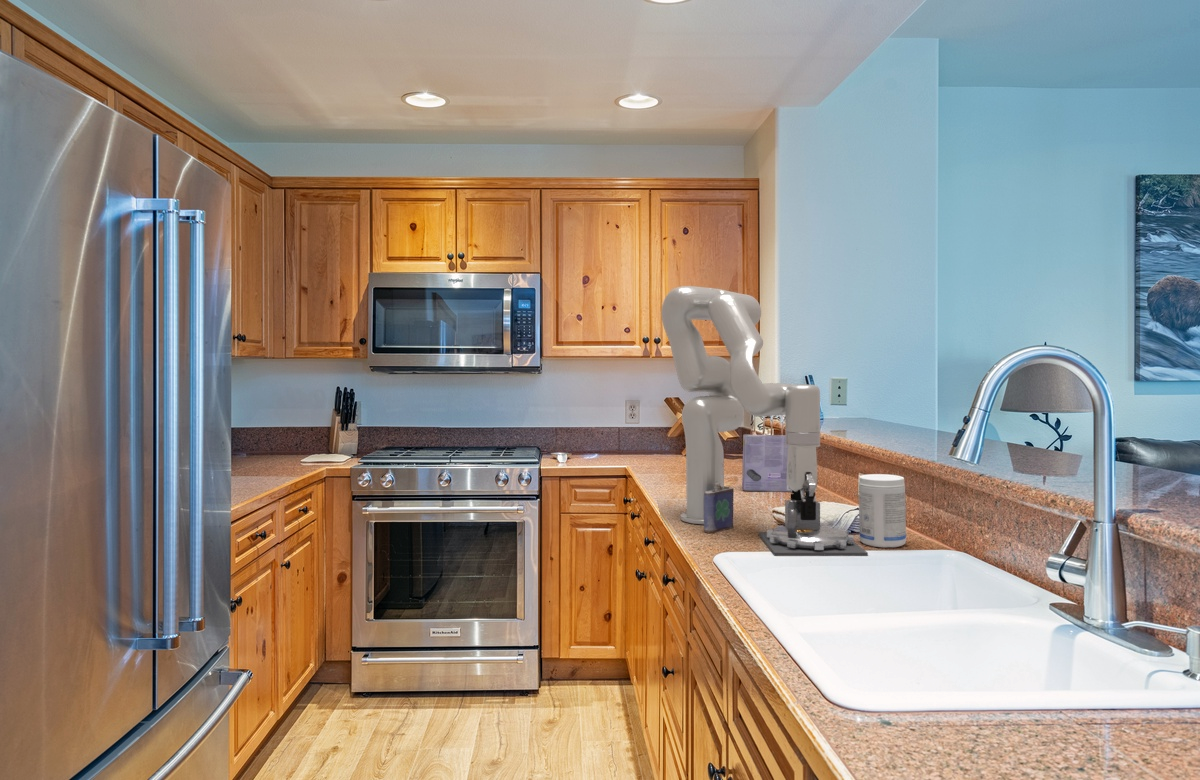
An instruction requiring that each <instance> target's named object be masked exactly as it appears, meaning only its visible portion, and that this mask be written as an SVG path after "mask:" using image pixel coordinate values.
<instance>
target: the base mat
mask: <svg viewBox="0 0 1200 780" xmlns="http://www.w3.org/2000/svg"><path fill="white" fill-rule="evenodd" d="M757 535H758V536H759V537H760V539H761V540H762V541H763V543H764V544H765V546H766V547H767V548H768V549H769V551H770V552H771V553H772V554H773V556H774V557H775V556H776V557H777V556H779V557H781V556H783V557H785V556H789V557H790V556H795V557H796V556H799V557H803V556H805V557H806V556H810V557H812V556H813V557H814V556H815V557H817V556H818V557H819V556H822V557H823V556H825V557H826V556H827V557H828V556H831V557H832V556H835V557H838V556H840V557H841V556H842V557H843V556H845V557H846V556H848V557H850V556H853V557H857V556H861V557H862V556H866V557H867V556H868V555H869V553H868V552H867V551H866V550H865V549H864V548H862V547H861V546H860V545H858V544H857V543H856V542H855V541H854V543H853V544H850V543H847V544H846V548H841V549H840V548H836V547H835V548H824V550H814V548H800V547H797V548H790V547H787V545H784V544H780V543H772V542H770V537H767V531H758V532H757Z"/></svg>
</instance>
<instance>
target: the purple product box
mask: <svg viewBox="0 0 1200 780" xmlns="http://www.w3.org/2000/svg"><path fill="white" fill-rule="evenodd" d="M742 443H743V444H742V476H741V477H742V479H741V480H742V481H741V482H742V484H741V485H742V486H741V488H742V489H743V491H744V492H769V493H770V492H773V493H775V492H777V493H778V492H786V493H787V492H790V493H791V488H789V487H788V486H787V484H786V477H787V455H788V446H786V445H785V435H784V434H783V435H781V434H780V435H779V434H776V435H775V434H743V439H742Z"/></svg>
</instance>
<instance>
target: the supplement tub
mask: <svg viewBox="0 0 1200 780" xmlns="http://www.w3.org/2000/svg"><path fill="white" fill-rule="evenodd" d="M858 508H859V509H858V518H859V519H858V520H859V521H858V522H859V523H858V524H859V529H858V530H859V540H860V542H861V543H863V544H864V545H867V546H870V547H876V548H893V549H894V548H898V547H902V546H904V545H905V544H906V541H907V520H906V519H907V515H906V513H907V512H906V511H907V509H906V483H905V477H903V476H901V475H897V474H889V473H888V474H886V473H885V474H884V473H883V474H882V473H872V474H862V475H860V476H859V479H858Z"/></svg>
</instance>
